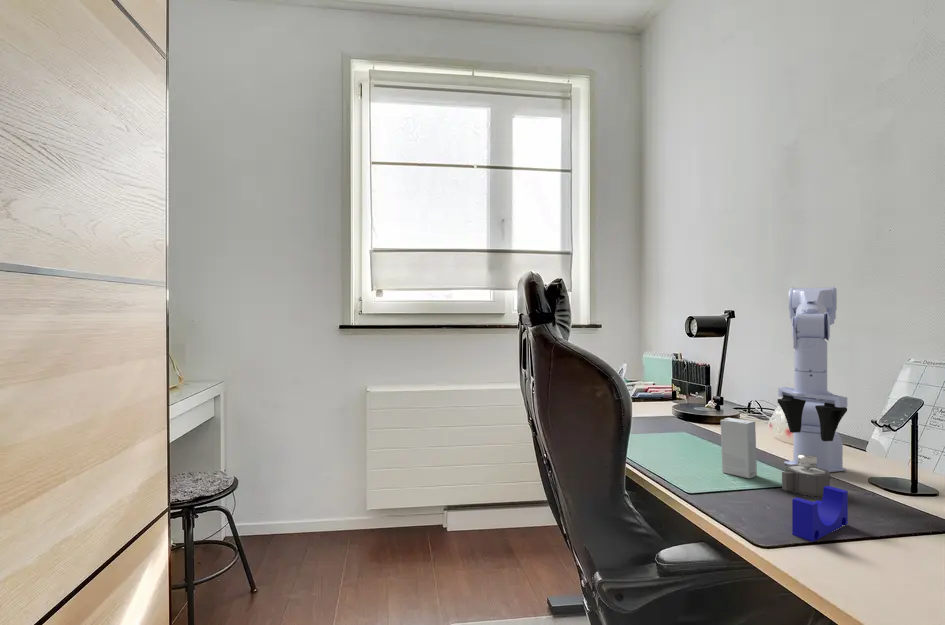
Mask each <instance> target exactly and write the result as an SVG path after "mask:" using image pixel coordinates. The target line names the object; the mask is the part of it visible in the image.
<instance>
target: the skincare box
mask: <svg viewBox="0 0 945 625" xmlns="http://www.w3.org/2000/svg"><path fill="white" fill-rule="evenodd" d="M756 432H757V431H756V421H753V420H748V419H747V420H746V419H739V418H734V417H733V418H732V417H726V418H722V419H720V437H721V438H720V441H721V444H720V445H721V470H722V471H721V472H722V473H725V474H728V475H732V476H737V477H741V478H744V479H745V478H746V479H752V478H754V477H756V476H757V475H758V470H757V468H758V467H757V465H758V464H757V437H756V435H757V434H756Z"/></svg>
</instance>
